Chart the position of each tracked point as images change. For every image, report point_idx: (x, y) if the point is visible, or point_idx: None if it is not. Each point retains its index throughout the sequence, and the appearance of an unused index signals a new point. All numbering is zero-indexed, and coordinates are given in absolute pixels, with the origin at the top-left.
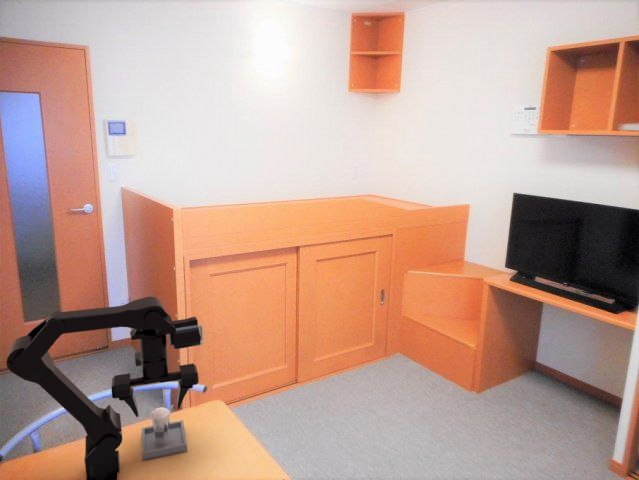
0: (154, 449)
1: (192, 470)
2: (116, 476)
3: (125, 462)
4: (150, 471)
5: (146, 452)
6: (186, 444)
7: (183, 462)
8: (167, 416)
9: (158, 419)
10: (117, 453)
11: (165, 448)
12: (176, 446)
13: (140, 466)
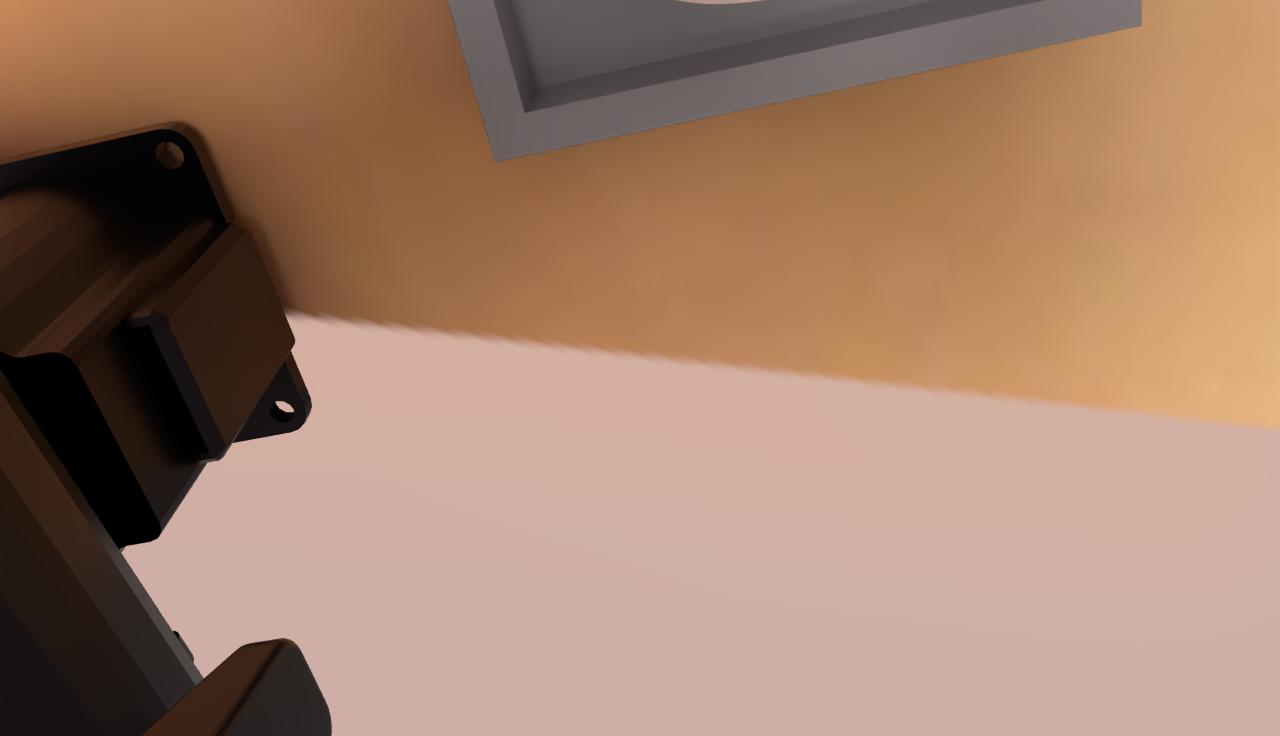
0: (651, 86)
1: (1135, 354)
2: (290, 389)
3: (292, 124)
4: (648, 313)
5: (547, 139)
6: (1135, 21)
7: (1036, 212)
8: None
9: (724, 2)
10: (181, 389)
11: (813, 86)
12: (977, 52)
13: (507, 218)
